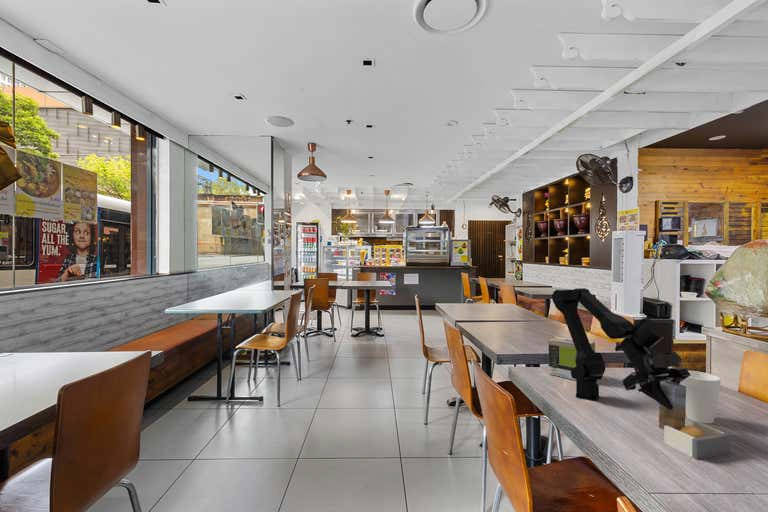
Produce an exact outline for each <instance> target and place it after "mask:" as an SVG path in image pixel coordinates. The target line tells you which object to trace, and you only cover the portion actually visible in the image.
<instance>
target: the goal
mask: <svg viewBox="0 0 768 512" xmlns="http://www.w3.org/2000/svg"><path fill="white" fill-rule="evenodd" d="M692 426H693V427H696V428H697V429H699V430H700V431H701V432H702V433H703V435H704V437H699V438H694V437H692V436H690V435H687V434H685V433H683V432H681V431H678V430H676V429H674V428H672V427H669V426H664V430H663V439H664V441H663V443H664V444H665V445H667V446H669V447H671V448H673V449H676V450H677V451H679V452H681V453H683V454H685V455H687V456H690V457H691V458H694V459H696V460H700V459H705V458H711V457H712V458H713V457H715V456H722V455H728V454H731V434H729V433H726V432H724V431H721V430H719V429H716V428H715V427H711V426H709V425H707V424H705V423H701V422H697V421H694V420H693V422H692Z"/></svg>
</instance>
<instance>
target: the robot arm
mask: <svg viewBox="0 0 768 512" xmlns="http://www.w3.org/2000/svg"><path fill="white" fill-rule="evenodd" d="M551 301H552V303H553V304H554V307H555V308H556V309H557V310H558V311H559V312H560V313H561V314H562V315H563V317H564V321H565V324H566V326H567V329H568V332H569V335H570V337H571V339H572V340H573V343H574V346H575V348H576V351H577V354H576V359H575V362H576V367H575V368H574V369H573V370H572V371H571V376H572V378H574V379H576V380H575V383H576V384H575V387H576V388H575V391H576V393H575V398H578V399H583V400H584V399H585V400H589V401H598V398H600V384H599V383H598V381H599V380H600V381H601V380H602V379H603V377H604V374H605V371H606V366H605V365H606V363H605V361H604V359H603V355H602V353H601V352H596V350H595V351H594V350H593V349H592V348H591V345H590V343H589V341H590V340H589V337H588V335H587V332H586V331H585V330H586V329H585V327H584V325H583V322H582V320H581V316H580V315H579V312H578V309H579V304H581V306H583V308H585V309H586V310H587V312H589V313H590V315H592V316H593V317H594V318H595V319H596V320H597V321H598V322H599V324H600V328H601V330H602V331H603V332H604V333H605V335H606V336H607V337H608V338H609V339H611V340H618V339H622V340H621V341H617V342H616V343H615V344H616V345H615V348H614V351H615V352H623V353H624V355H625V356H626V358H627V359H628V360H629V362H630V364H629V365H628V366H629V367H630V368H631V369H634V368H635V369H636V370H637V372H635V371H633V372H631V373H630V374H628V375H627V376H626V377H625V378H623V379H622V385H623V387H624V388H625V390H626V391H634V390H636V387H637V385H639V388H638V389H637V391H638V392H640V393H643V394H645V395H646V396H648V397H649V398H651V399H652V400H654V401H655V402H657V403H658V404H659V403H660V404H662V405H663V406H665V407H666V408H668V409H669V410H671V409H673V407H672V405H671V403H670V401H669V400H668V398H667V397H666V395H665V394H664V392H663V391H662V389H661V388H660V382H669V381H672V382H675V383H678V384H680V385H681V382H682V381H683V380H685V379H686V378H688V377H689V376H691V374H690V373H689V372H688V371H689V370H687V369H686V368H684V367H680V366H681V365H680V363H681V362H682V357H681V356H680V355H679V354H678V353H677V352H676V351H675V350H674V351H667V352H665V354H662V355H657V354H655V353H650V351H649V350H648V349H650V348H653V347H655V345H656V344H658V343H659V342H660V341H661V340H663V339H664V338H665V337H666V335H667V331H666V330H665V328H664V326H661V325H660V324H659V323H657V322H655V321H653V320H651V319H650V318H649V317H645V318H644V317H643V318H641V319H640V321H639V323H637V324H636V325H635V324H633V323H632V322H631V321H630V320H628V319H627V318H625V317H623V316H622V315H619V314H616V313H614V312H613V311H611V310H610V309H609V308H608V307H607V306H606V305H605V304H604V303H602V302H601V301H600V300H599V299H598V298H597V297H596V296H594V295H593V294H592V293H591V291H590V290H589V289H588V288H585V287H584V288H583V287H581V288H578V287H577V288H574V289H555V290H554V291H553V293H552V294H551ZM647 348H648V349H647ZM668 367H672V369H671V370H669V368H668ZM667 370H669V371H668V372H666V373H665V374H664V372H665V371H667Z"/></svg>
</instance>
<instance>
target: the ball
mask: <svg viewBox="0 0 768 512" xmlns="http://www.w3.org/2000/svg"><path fill="white" fill-rule="evenodd" d="M680 431H681V432H683V433H685V434H687V435H690V436H692V437H694V438H699V437H704V435H703V433H702V432H701V431H700V430H699V429H697V428H696V427H693V425H685V427H683V428H681V430H680Z"/></svg>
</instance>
